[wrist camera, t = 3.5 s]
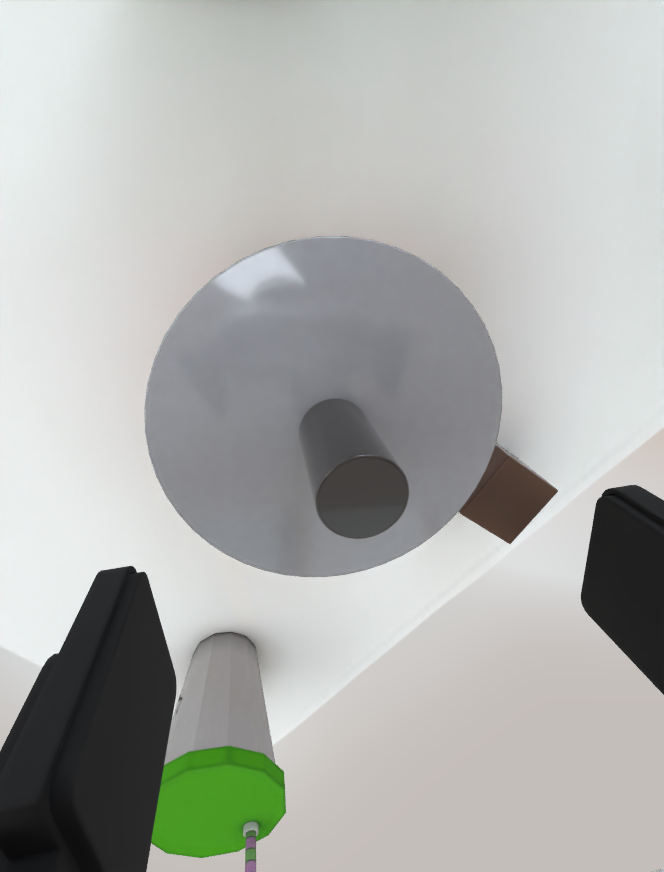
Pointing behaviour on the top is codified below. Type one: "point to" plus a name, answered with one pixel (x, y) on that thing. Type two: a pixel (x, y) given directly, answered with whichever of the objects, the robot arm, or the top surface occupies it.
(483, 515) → the block
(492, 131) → the top surface
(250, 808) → the cup
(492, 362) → the lid
